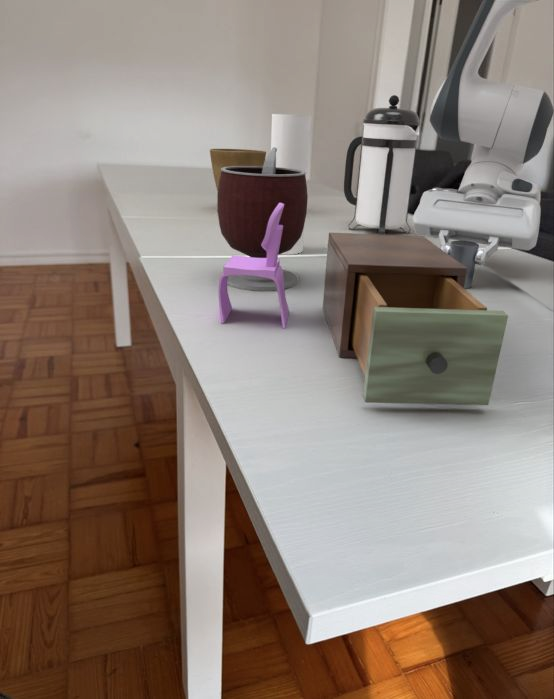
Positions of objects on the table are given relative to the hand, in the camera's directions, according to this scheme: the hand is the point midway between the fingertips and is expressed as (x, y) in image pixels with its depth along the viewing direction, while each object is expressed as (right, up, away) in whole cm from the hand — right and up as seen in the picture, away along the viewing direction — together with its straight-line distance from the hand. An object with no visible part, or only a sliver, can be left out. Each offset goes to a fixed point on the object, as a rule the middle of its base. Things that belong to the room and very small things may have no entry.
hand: (461, 260), depth 90 cm
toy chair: (-33, -11, -17) cm, 39 cm away
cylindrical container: (-29, +5, +20) cm, 35 cm away
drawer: (-17, -17, -32) cm, 40 cm away
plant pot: (-41, +23, +61) cm, 77 cm away
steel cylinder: (0, -4, +2) cm, 4 cm away
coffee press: (-7, +14, +44) cm, 47 cm away
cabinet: (-17, -12, -20) cm, 29 cm away
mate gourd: (-33, -3, +1) cm, 33 cm away
